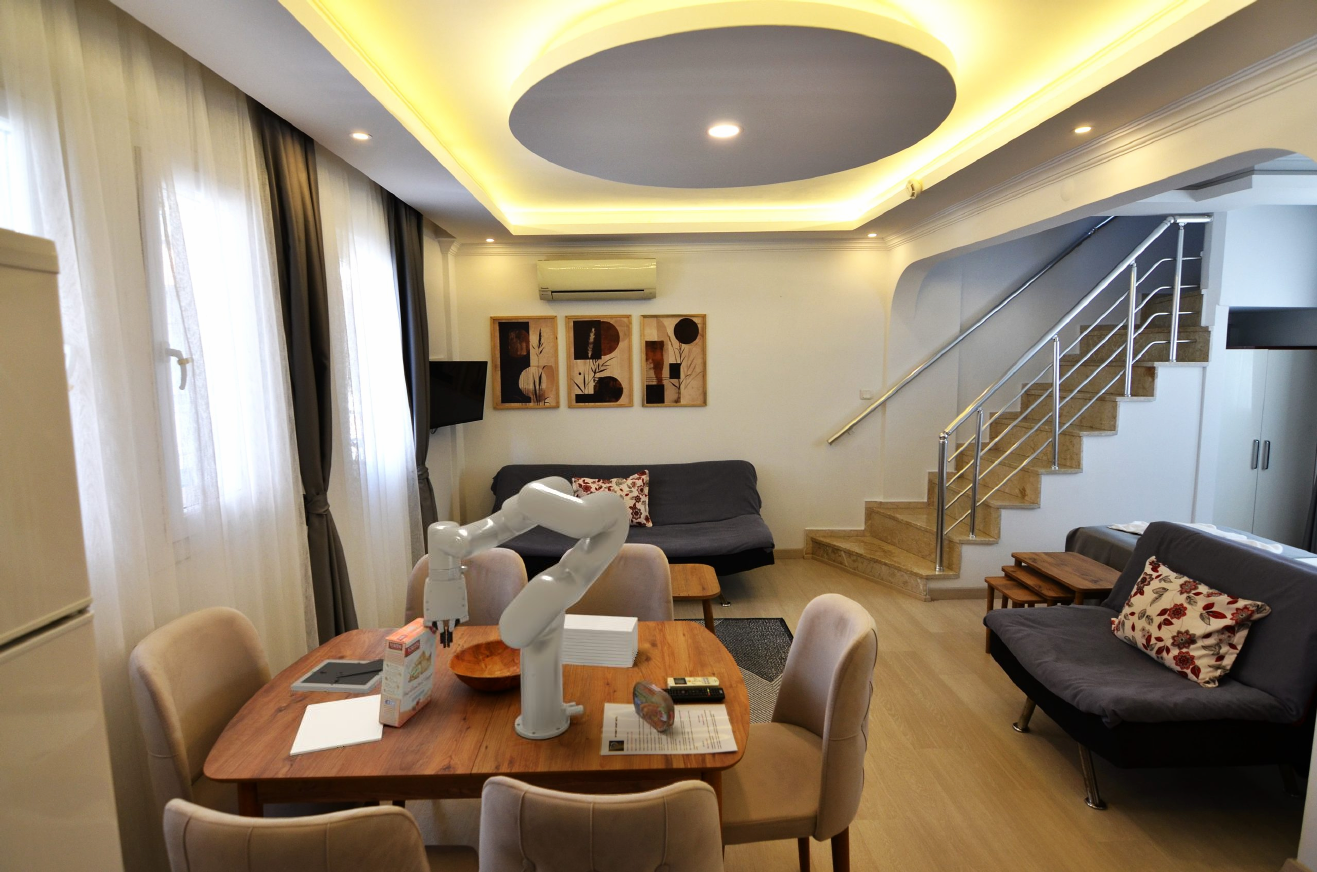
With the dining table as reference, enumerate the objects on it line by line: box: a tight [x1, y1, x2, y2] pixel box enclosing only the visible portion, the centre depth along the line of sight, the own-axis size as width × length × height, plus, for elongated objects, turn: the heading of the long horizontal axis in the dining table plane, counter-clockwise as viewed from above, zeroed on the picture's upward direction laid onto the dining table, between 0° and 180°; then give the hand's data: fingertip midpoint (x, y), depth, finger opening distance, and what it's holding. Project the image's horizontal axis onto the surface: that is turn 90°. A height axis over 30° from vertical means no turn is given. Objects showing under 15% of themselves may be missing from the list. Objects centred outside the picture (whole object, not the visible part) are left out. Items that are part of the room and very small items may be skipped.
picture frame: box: [290, 658, 384, 695], centre depth 175 cm, size 16×3×21 cm
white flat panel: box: [289, 693, 384, 757], centre depth 152 cm, size 18×22×1 cm
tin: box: [632, 680, 676, 732], centre depth 152 cm, size 15×3×8 cm, turn 33°
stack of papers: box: [562, 613, 639, 668], centre depth 188 cm, size 32×11×11 cm, turn 83°
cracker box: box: [379, 617, 439, 728], centre depth 155 cm, size 14×6×21 cm, turn 168°
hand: (446, 645), depth 159 cm, fingers closed
